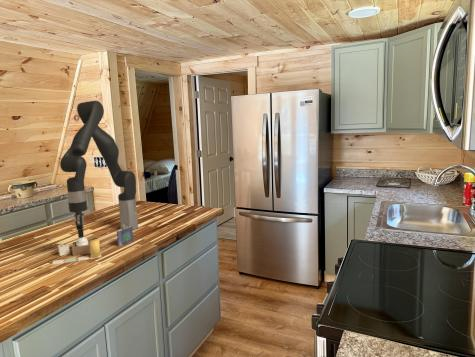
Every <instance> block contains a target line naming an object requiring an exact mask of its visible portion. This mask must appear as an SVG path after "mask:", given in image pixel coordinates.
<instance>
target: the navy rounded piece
mask: <svg viewBox="0 0 475 357" xmlns="http://www.w3.org/2000/svg"><path fill="white" fill-rule="evenodd" d="M121 226H122V225H121V224H120V227H121ZM133 238H134V234H133V230H132V226H125V225H124V224H123V226H122V229H121V228H120V229H118V230H116V240H117V247H122V246H124V245H126V244H128V243H131V242H133V241H134V239H133Z"/></svg>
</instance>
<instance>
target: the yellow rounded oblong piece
mask: <svg viewBox="0 0 475 357" xmlns="http://www.w3.org/2000/svg"><path fill="white" fill-rule="evenodd" d="M90 240H91V241H89V243H90V253H89V254H90V255H91V257H92V259H98V258H100V257H99V256H101V257H102V254H101V248H100V240H99V239H90ZM100 254H101V255H100ZM97 257H98V258H97Z"/></svg>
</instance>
